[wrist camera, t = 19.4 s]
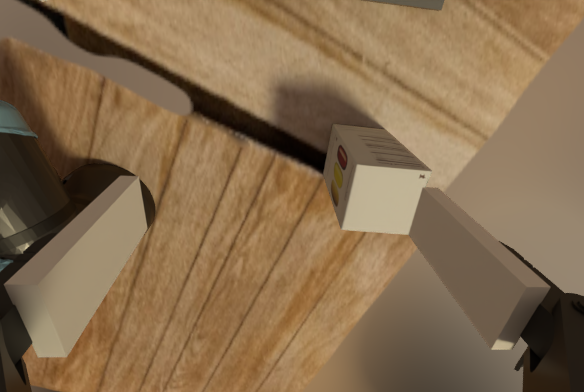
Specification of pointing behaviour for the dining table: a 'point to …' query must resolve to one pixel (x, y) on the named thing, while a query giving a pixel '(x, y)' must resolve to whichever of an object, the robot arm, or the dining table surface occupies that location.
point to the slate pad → (414, 3)
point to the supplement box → (373, 180)
